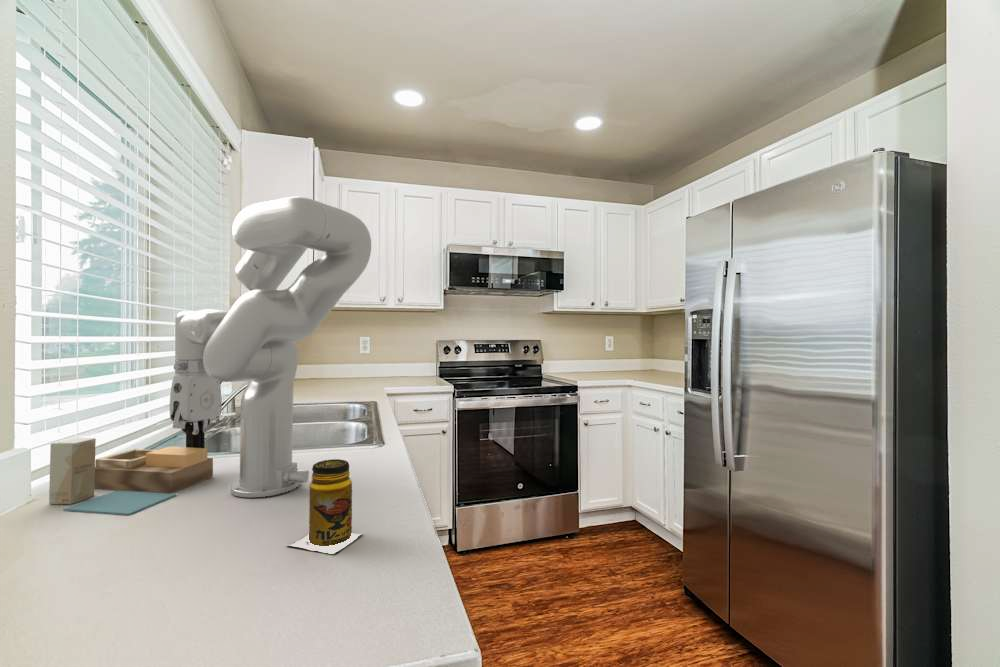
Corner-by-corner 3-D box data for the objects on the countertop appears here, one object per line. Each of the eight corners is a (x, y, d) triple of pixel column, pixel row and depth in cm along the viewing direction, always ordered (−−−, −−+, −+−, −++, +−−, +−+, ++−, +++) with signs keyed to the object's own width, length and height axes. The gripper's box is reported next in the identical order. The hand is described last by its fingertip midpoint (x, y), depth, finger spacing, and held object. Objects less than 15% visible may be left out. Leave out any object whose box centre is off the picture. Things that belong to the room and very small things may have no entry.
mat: (176, 495, 92) (176, 494, 92) (128, 515, 82) (128, 513, 82) (116, 491, 93) (116, 490, 93) (63, 510, 83) (63, 508, 83)
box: (71, 504, 86) (71, 443, 86) (47, 504, 86) (48, 443, 86) (96, 495, 92) (96, 437, 92) (74, 494, 92) (74, 436, 92)
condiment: (334, 556, 68) (335, 471, 68) (285, 547, 70) (286, 466, 70) (364, 535, 75) (364, 458, 75) (318, 528, 77) (319, 454, 77)
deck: (212, 476, 104) (213, 451, 104) (171, 493, 93) (171, 465, 93) (139, 472, 106) (139, 447, 106) (90, 488, 95) (90, 460, 95)
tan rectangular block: (207, 460, 102) (207, 448, 102) (184, 467, 96) (185, 455, 96) (170, 458, 103) (170, 446, 103) (145, 465, 98) (145, 453, 98)
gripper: (183, 370, 96) (182, 461, 96) (235, 365, 111) (234, 444, 111) (150, 369, 98) (150, 459, 98) (206, 365, 112) (206, 443, 112)
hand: (195, 451), depth 104 cm, fingers closed
